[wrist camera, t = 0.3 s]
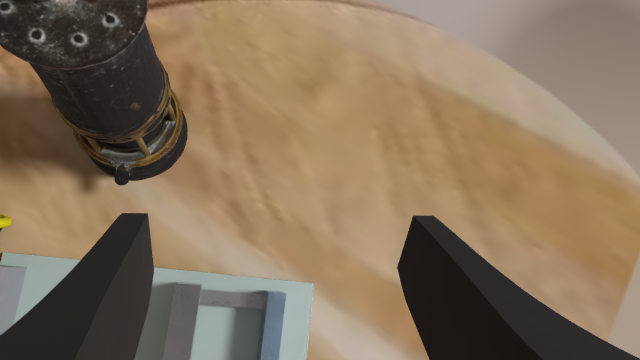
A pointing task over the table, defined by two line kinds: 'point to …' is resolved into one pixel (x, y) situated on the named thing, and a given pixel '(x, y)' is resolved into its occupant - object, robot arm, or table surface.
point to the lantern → (101, 79)
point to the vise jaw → (193, 295)
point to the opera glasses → (5, 221)
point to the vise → (212, 321)
